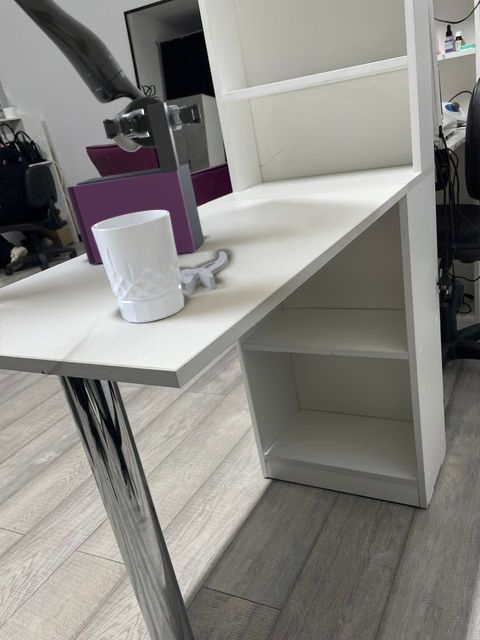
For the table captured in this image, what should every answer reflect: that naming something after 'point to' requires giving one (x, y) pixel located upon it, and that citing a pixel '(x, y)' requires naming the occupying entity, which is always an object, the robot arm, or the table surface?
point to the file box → (187, 193)
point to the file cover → (137, 193)
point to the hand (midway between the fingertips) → (157, 120)
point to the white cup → (141, 264)
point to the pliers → (203, 274)
